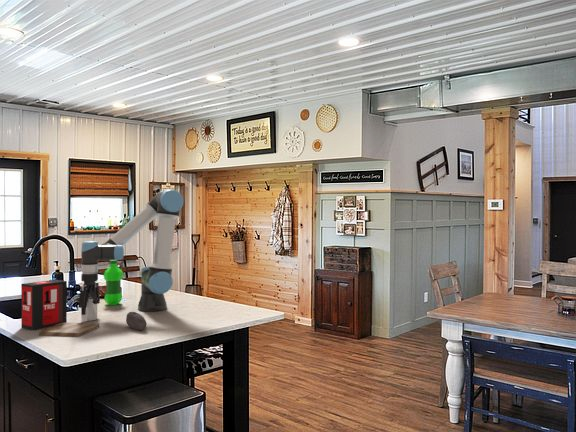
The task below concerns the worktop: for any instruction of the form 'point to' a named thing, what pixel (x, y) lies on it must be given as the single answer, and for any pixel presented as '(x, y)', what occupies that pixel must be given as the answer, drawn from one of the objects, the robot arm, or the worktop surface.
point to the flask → (91, 310)
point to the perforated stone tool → (136, 321)
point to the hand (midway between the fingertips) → (89, 319)
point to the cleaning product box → (43, 304)
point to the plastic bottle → (113, 284)
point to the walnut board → (69, 329)
